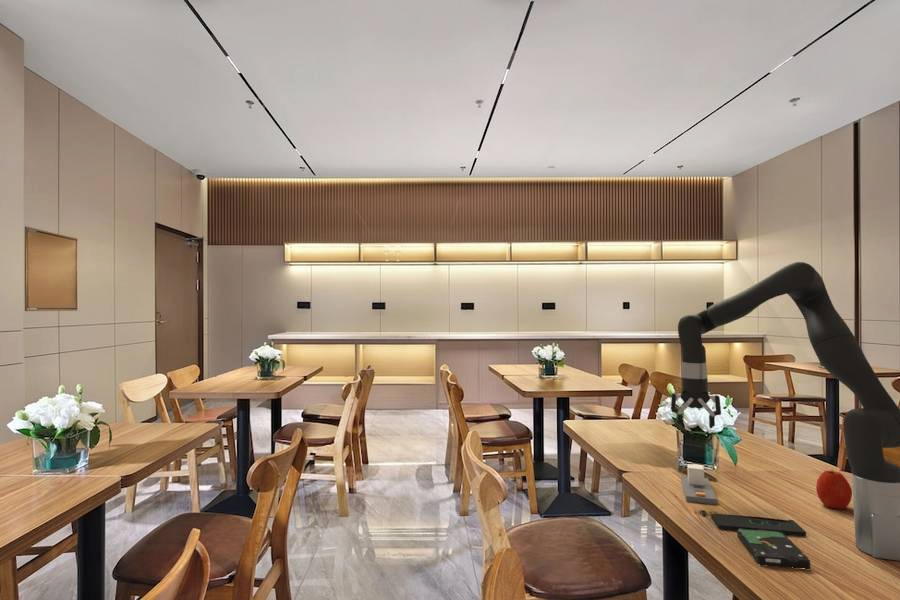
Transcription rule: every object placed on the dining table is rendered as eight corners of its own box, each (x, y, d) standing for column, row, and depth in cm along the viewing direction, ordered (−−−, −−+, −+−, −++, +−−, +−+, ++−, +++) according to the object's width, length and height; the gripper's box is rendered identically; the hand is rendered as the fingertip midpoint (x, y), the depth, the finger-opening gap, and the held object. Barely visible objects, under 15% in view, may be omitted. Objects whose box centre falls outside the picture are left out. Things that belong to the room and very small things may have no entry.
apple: (849, 504, 140) (847, 467, 140) (856, 514, 132) (854, 475, 133) (815, 499, 144) (813, 463, 144) (819, 508, 137) (817, 471, 137)
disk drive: (812, 573, 103) (782, 541, 118) (811, 560, 103) (781, 530, 118) (758, 568, 106) (735, 538, 120) (758, 555, 106) (735, 526, 120)
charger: (704, 490, 149) (704, 469, 149) (689, 488, 150) (688, 467, 151) (703, 485, 153) (702, 465, 153) (688, 484, 154) (687, 464, 155)
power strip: (720, 518, 131) (720, 505, 131) (688, 514, 134) (688, 501, 134) (708, 487, 156) (707, 476, 156) (681, 484, 159) (680, 473, 159)
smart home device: (807, 532, 119) (718, 524, 124) (807, 539, 119) (719, 531, 124) (792, 518, 127) (710, 512, 132) (792, 525, 127) (710, 518, 132)
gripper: (670, 376, 153) (672, 427, 152) (721, 378, 147) (722, 431, 146) (669, 374, 160) (671, 422, 159) (717, 375, 154) (719, 425, 153)
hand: (696, 426), depth 153 cm, fingers open, 8 cm apart
